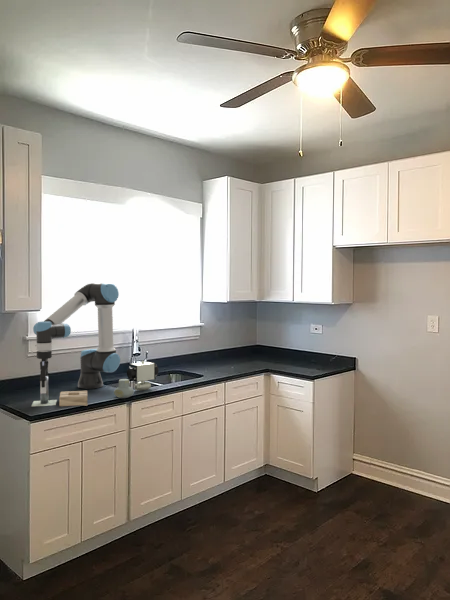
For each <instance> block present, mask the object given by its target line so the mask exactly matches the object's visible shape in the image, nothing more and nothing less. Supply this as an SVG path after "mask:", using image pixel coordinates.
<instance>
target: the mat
mask: <svg viewBox="0 0 450 600" xmlns="http://www.w3.org/2000/svg"><path fill="white" fill-rule="evenodd" d="M57 402H58V399H50V400H49V399H48V403H47V404H41V403H40V400H33V402H32V404H31V406H30V407H47V406H56V405H57Z"/></svg>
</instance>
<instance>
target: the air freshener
mask: <svg viewBox="0 0 450 600" xmlns="http://www.w3.org/2000/svg"><path fill="white" fill-rule="evenodd" d="M134 390H135V389H133V387H131V386H130V379H129V378H120V379H119V380H118V387H116V388H115V389H114V390H113V395H114V396H116V397H117V398H118V399H127V398H131V397H132V396H133V395H134V392H135V391H134Z"/></svg>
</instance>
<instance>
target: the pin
mask: <svg viewBox="0 0 450 600" xmlns="http://www.w3.org/2000/svg"><path fill="white" fill-rule="evenodd" d="M39 387H40V389H39V391H40V395H39V396H40V397H39V399H40V400H39V401H40V403H41V404H47V403H48V400H49V375H47V376H46V393H42V394H41V384H40V385H39Z"/></svg>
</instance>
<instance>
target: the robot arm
mask: <svg viewBox="0 0 450 600" xmlns="http://www.w3.org/2000/svg"><path fill="white" fill-rule="evenodd" d="M119 294H120V293H119V289H118V287H117V286H116V284H114V283H113V282H106V281H105V282H104V281H103V282H96V281H95V282H93V281H92V282H90V283H87V284H85V285H84V286H83V287H81V288H79V289H77V291H76V292H75V293H74V295H73V296H72V297H70V299H69V300H68V301H67V302H65V303H63V304H62V305H61V306H60V307H59V308H58V309H56V310H55V311H54V312H53V313H52V314H50V315H49V316H48V317H47V318H46V319H44V320H43V321H42V320H41V321H38V322H36V323H35V324H34V326H33V328H32V329H33V333H34V334H35V335H36V344H35V347H36V358H37V359H39V360H40V362H39V365H40V366H39V367H40V368H39V369H40V376H39V378H40V379H38V382H39V383H40V384H41V394H42V393H46V376H50V373H49V360H48V359H52V357H53V356H52V355H53V352H52V350H53V346H52V345H53V344H52V343H53V342H52V339H59V338H60V339H61V338H63V339H64V338H66V337H67V338H68V337H69V336H70V335H71V333H72V328H71V326H70V325H69V324H68V323H64V322H65V321H66V320H67V319H68V318H70V317H71V316H72V315H73V314H75V313H76V312H77V311H78V310H79V309H80V308H81V307H83V306H86V305H88V304H89V303H92V302H94V306H95V307H97V331H98V332H97V333H98V334H97V336H98V348H91V349H85V350H81V351H80V357H79V358H80V376H79V379H78V382H77V388H78V389H79V388H80V389H87V390H88V389H98V388H99V389H100V388H102V387H104V382H103V379H102V375H101V372H104V373H114V372H116V371H117V369H118V368H119V366H120V364H121V357H120V355H119V354H118V353H117V350H116V348H115V347H114V329H113V327H114V326H113V325H114V323H113V322H114V320H113V318H114V317H113V307H114V306H115V305H116V304H115V302H117V300H118V298H119V296H120V295H119Z"/></svg>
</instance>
